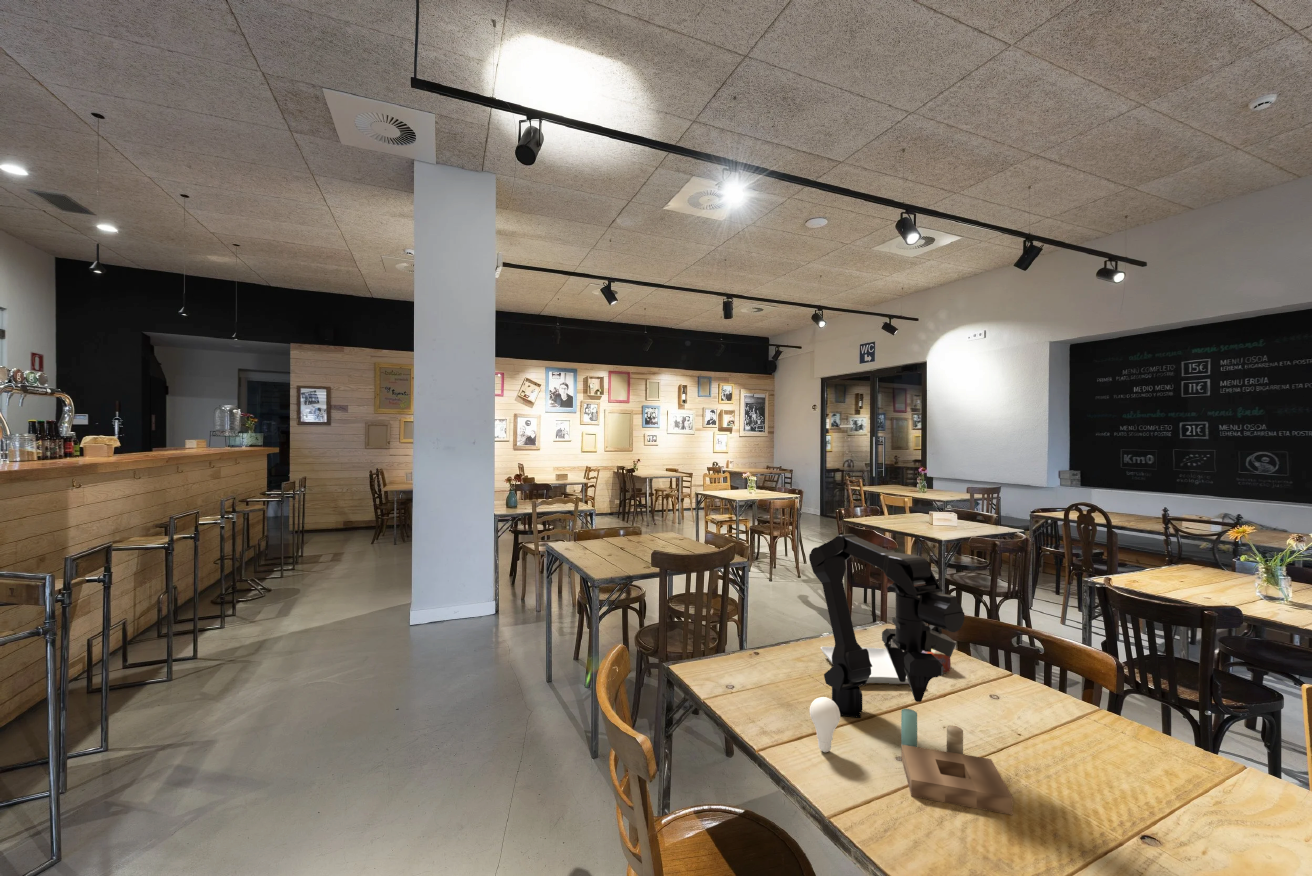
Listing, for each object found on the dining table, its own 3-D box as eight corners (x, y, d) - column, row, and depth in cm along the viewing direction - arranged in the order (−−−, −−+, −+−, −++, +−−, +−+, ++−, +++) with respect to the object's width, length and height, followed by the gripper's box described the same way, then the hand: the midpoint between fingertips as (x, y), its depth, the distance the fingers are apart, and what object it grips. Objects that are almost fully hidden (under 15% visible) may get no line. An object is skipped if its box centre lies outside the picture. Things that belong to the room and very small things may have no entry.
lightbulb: (840, 746, 113) (840, 694, 113) (840, 762, 107) (840, 707, 107) (810, 741, 115) (810, 689, 115) (808, 756, 109) (808, 702, 109)
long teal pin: (902, 753, 110) (902, 714, 111) (900, 745, 113) (900, 707, 113) (918, 755, 110) (918, 716, 110) (915, 748, 112) (915, 709, 113)
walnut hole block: (911, 796, 97) (911, 779, 97) (901, 759, 108) (901, 744, 108) (1012, 814, 92) (1012, 797, 92) (991, 774, 103) (991, 758, 104)
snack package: (953, 674, 150) (953, 650, 150) (929, 674, 150) (929, 650, 150) (917, 646, 171) (917, 625, 171) (896, 646, 171) (896, 625, 171)
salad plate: (922, 690, 140) (923, 677, 140) (842, 688, 141) (842, 675, 141) (888, 658, 162) (888, 647, 162) (818, 657, 162) (819, 646, 162)
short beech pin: (948, 755, 110) (948, 731, 110) (945, 748, 113) (945, 724, 113) (964, 758, 109) (964, 733, 109) (961, 750, 112) (961, 726, 112)
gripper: (971, 634, 102) (971, 716, 102) (932, 605, 120) (932, 674, 120) (911, 631, 103) (910, 712, 103) (881, 603, 122) (881, 671, 121)
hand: (909, 691), depth 112 cm, fingers open, 9 cm apart
